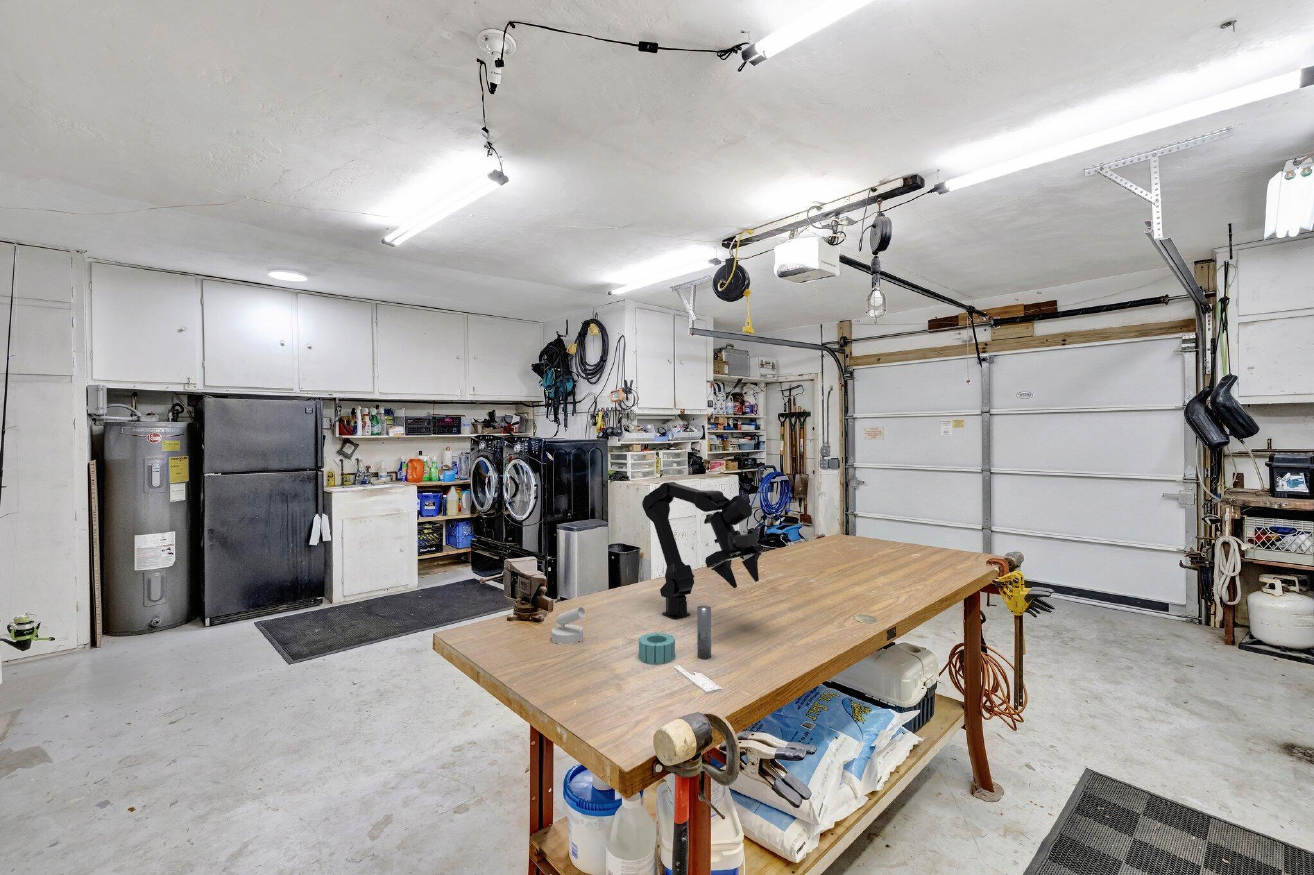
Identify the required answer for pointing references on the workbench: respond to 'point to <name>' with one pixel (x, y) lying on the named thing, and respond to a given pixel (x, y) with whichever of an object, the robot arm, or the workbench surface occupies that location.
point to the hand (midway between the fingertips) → (746, 584)
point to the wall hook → (568, 627)
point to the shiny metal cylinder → (704, 632)
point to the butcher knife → (699, 680)
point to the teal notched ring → (656, 648)
